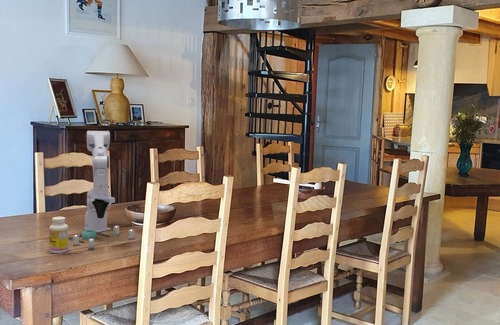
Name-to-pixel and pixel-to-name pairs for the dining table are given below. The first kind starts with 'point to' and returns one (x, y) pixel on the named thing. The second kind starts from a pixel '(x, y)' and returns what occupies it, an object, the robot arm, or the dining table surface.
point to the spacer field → (92, 241)
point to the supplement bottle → (58, 235)
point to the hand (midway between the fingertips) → (100, 217)
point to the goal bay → (83, 241)
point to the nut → (88, 234)
